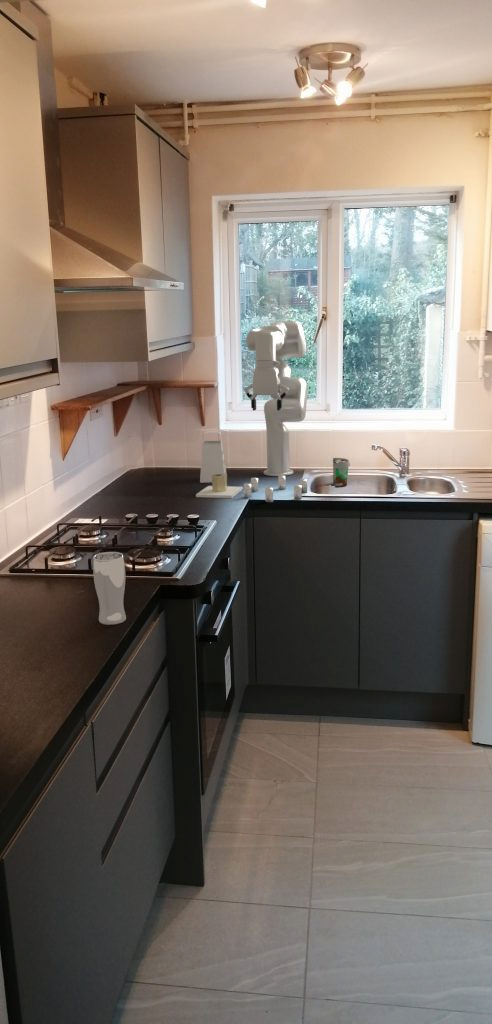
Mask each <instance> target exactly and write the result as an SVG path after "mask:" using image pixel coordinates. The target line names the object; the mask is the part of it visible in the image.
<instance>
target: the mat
mask: <svg viewBox="0 0 492 1024" xmlns="http://www.w3.org/2000/svg"><path fill="white" fill-rule="evenodd" d="M242 489H243V490H244V486H231V485H230V486H229V485H227V490H226V491H225V492H214V491H212V485H207V486H206V487H205V488H203V489H202V490H200V491H199V492H197V493H196V494H195V498H212V499H213V498H214V499H215V498H216V499H233V498H234V497H235V496H237V495H238V494H239V493H240V492H241V491H243V490H242Z"/></svg>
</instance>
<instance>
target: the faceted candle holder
mask: <svg viewBox="0 0 492 1024" xmlns="http://www.w3.org/2000/svg"><path fill="white" fill-rule="evenodd" d="M211 484H212V485H211V486H212V491H214V492H225V491H226V490H227V486H228V474H227V475H226V474H214V475H212V482H211Z"/></svg>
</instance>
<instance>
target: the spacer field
mask: <svg viewBox="0 0 492 1024" xmlns="http://www.w3.org/2000/svg"><path fill="white" fill-rule="evenodd" d="M277 478H278V479H277V480H278V481H277V483H278V485H277V486H278V490H282V491H283V490H286V486H287V485H286V476H277ZM252 491H254V492H253V493H257V492H256V491H258V492H259V477H251V478H250V483H247V482H246V483H243V498H244V497H245V498H244V499H249V498H248V497H251V498H252ZM307 493H308V479H307V478H300V479H299V484H294V485H293V499H294V500H295V499H296V501H297V500H302V499H303V497H302V496H303V494H307ZM264 494H265V498H264V499H265V502H266V503H273V502H274V488H273V487H272V486H266V487H264Z"/></svg>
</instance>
